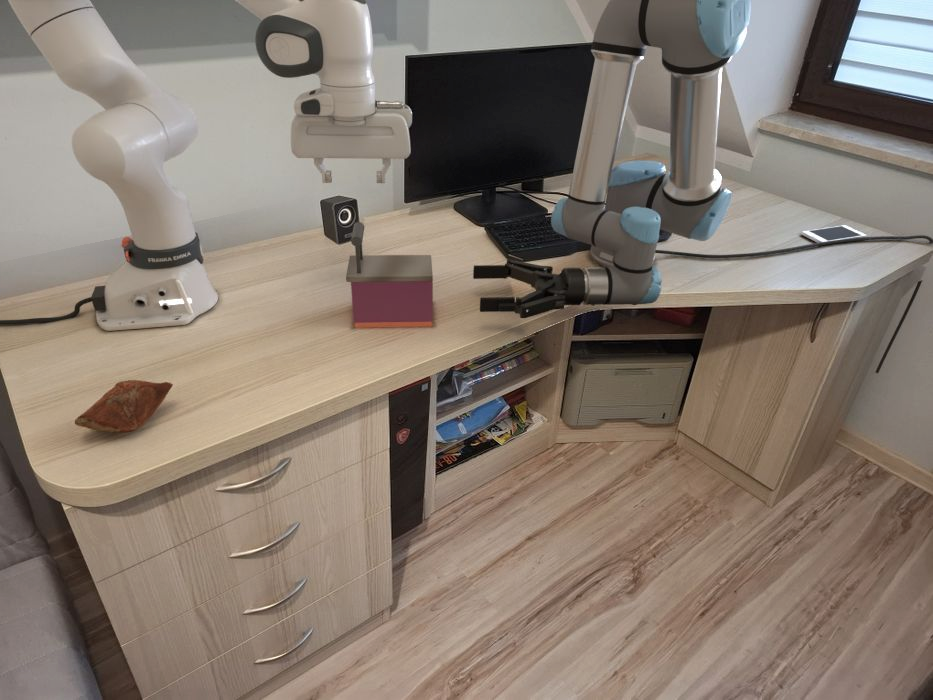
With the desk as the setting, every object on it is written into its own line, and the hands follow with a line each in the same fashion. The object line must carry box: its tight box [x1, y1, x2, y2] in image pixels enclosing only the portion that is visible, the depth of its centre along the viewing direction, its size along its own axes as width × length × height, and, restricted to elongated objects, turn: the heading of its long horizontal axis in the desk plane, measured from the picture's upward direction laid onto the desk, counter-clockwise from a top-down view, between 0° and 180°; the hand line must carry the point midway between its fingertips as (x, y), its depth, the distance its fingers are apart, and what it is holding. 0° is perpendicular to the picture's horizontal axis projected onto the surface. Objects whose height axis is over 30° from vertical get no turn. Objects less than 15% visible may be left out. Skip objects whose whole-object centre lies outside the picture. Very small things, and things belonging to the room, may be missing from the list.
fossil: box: [74, 379, 174, 434], centre depth 97 cm, size 13×8×10 cm
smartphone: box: [801, 224, 867, 243], centre depth 170 cm, size 7×16×1 cm, turn 111°
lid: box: [345, 221, 434, 283], centre depth 121 cm, size 16×9×9 cm, turn 94°
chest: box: [350, 280, 434, 329], centre depth 126 cm, size 15×9×10 cm, turn 95°
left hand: (354, 182), depth 113 cm, fingers open, 8 cm apart
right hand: (476, 287), depth 126 cm, fingers open, 13 cm apart
